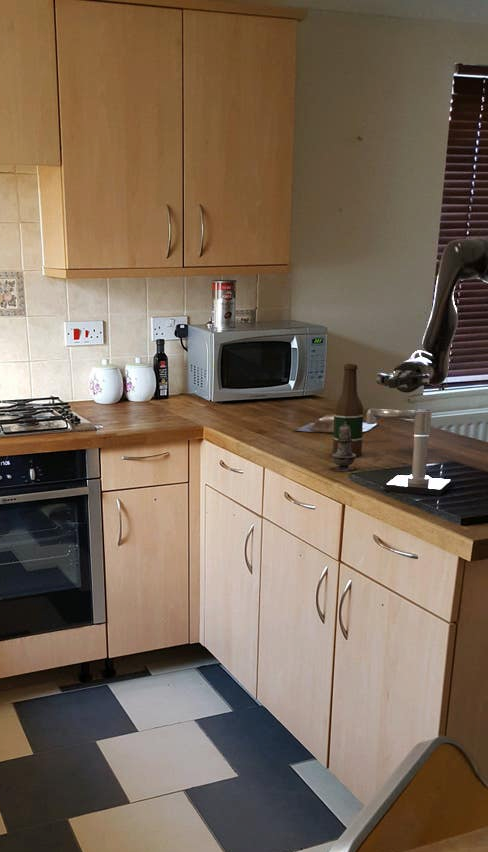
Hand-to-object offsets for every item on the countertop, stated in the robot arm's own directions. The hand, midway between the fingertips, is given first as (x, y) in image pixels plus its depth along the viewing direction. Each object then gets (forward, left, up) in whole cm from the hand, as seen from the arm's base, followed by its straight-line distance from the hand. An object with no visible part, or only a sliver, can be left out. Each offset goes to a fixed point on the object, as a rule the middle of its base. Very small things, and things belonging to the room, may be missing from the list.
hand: (392, 383), depth 202 cm
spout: (-4, +9, -10) cm, 14 cm away
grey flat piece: (+34, -65, -22) cm, 77 cm away
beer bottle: (+17, -23, -22) cm, 36 cm away
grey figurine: (+12, -5, -22) cm, 26 cm away
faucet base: (-10, +9, -22) cm, 26 cm away
